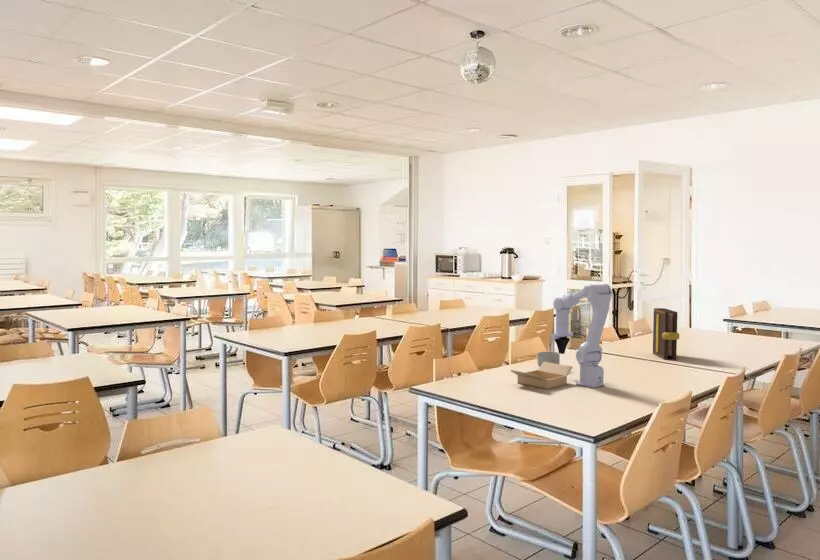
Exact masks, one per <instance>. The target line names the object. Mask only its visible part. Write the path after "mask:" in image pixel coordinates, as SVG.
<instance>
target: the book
mask: <svg viewBox="0 0 820 560" xmlns="http://www.w3.org/2000/svg"><path fill="white" fill-rule="evenodd" d="M652 324H653V327H652V328H653V329H652V331H653V333H652V354H653V355H654V356H656V357H658V358H660V359H662V360H664V361H667V360H669V359H670V360H673V361H677V347H678V346H677V343H678V341H677V340H679V339H680V334H679V332H678V311H674V310H671V309H668V308H661V307H660V308H659V307H655V308H653V323H652Z"/></svg>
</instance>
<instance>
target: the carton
mask: <svg viewBox="0 0 820 560" xmlns="http://www.w3.org/2000/svg"><path fill="white" fill-rule="evenodd" d="M524 373H529V374H534V375H539V376H541V377H543V378H544V379H546V380H547V381H543V380H538V379H533V378H528V377H523V376H518V375H517V384H520V385H524V386H529V387H532V388H538V389H541V390H542V389H543V390H548V391H549V390H552V389H556V388H560V387H564V386H568V385H567V383H568V382H567V380H568V375H567V376H566V375H561V374H555V373H550V372H545V371H539V370H538V369H534V370H529V371H524Z"/></svg>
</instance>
